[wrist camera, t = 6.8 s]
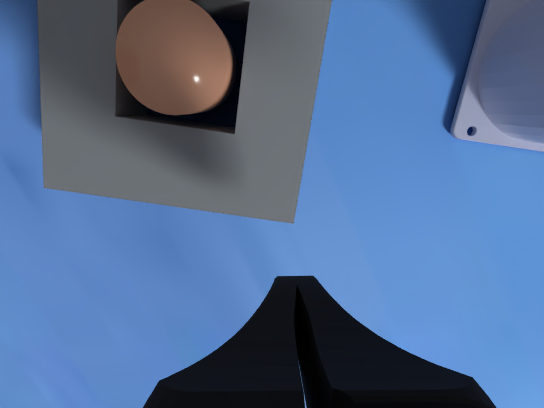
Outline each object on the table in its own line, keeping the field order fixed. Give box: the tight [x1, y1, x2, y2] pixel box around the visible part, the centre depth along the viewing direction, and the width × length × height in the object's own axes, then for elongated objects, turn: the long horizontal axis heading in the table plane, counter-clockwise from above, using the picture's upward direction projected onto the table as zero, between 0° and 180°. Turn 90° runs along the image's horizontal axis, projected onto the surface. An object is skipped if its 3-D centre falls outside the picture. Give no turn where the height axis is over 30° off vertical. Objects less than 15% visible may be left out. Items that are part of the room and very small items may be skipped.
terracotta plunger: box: [115, 0, 237, 115], centre depth 15 cm, size 4×4×4 cm
